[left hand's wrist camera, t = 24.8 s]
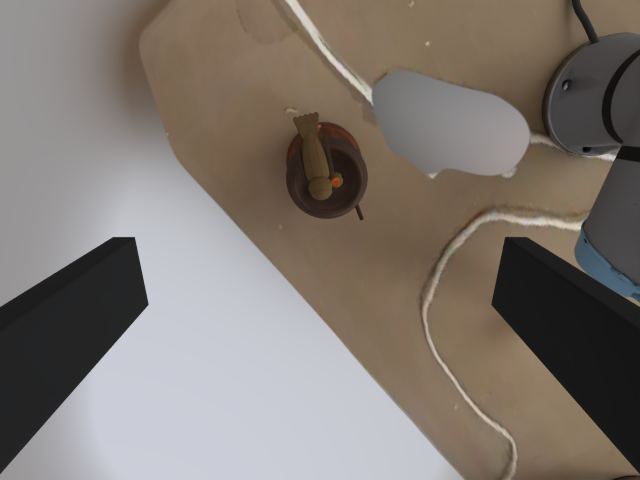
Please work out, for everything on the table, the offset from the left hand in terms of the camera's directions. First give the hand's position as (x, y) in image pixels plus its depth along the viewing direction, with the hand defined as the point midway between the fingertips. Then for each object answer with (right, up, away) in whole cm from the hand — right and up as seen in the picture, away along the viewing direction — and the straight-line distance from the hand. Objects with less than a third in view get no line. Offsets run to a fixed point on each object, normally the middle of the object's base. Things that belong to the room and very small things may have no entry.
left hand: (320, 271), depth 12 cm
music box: (+1, +13, +39) cm, 41 cm away
